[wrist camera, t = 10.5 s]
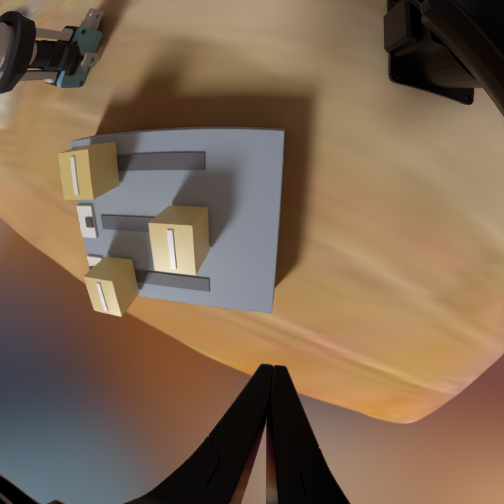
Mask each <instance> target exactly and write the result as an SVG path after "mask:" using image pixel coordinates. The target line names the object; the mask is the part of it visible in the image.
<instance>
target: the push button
mask: <svg viewBox="0 0 504 504" xmlns="http://www.w3.org/2000/svg"><path fill="white" fill-rule="evenodd" d="M96 11H97V9H89V11H88V13H87V15H86V17H85V19H84V21H82V23H81V25H80V27H75V26H66V27H64V29H63V30H62V31H56V30H49V29H42V28H36V27H35V22H34V21H32V20H30V19H28V18H26V17H23V16H22V14H21V13H19V12H16V11H9V12H6V13H4V14H3V15H1V16H0V94H1V93H6V92H9V91H11V90H12V89H13V88H14V87H15V85H16V84H17V83H18V82H19V81H27V80H45V83H48V84H51V85H54V86H58V87H61V88H74V87H77V88H78V87H82V86H83V84H84V82H85V78H86V75H87V72H88V70H89V67H94V66H95V64H96V62H97V59H98V57H99V54H97V53H95V52H96V49H97V47H98V45H99V42H100V40H101V38H102V35H103V33H102V32H100V31H97V29H98V26H99V24H98V23H99V21H100V19H101V17H102V15H103V13H104V12H103V11H97V12H96ZM91 12H92V13H93V14H92V16H91V17H89V14H90V13H91ZM97 15H100V16H99V18H98V19H96V16H97ZM91 21H92V22H91ZM36 37H39V38H49V39H58V41H47V40H42V41H38V40H35V38H36ZM93 57H94V61H93V62H92V59H93ZM91 62H92V63H91ZM27 68H38V69H42V70H27Z"/></svg>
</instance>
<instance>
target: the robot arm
mask: <svg viewBox="0 0 504 504" xmlns="http://www.w3.org/2000/svg"><path fill="white" fill-rule="evenodd" d="M392 1H394V2H396V3H397V4H396V5H394V4H393V3H392ZM384 49H385V50H386V51H387V52H388V53H389V68H388V75H389V78H390V80H391V81H392V82H393V83H396V84H400V85H404V86H408V87H412V88H416V89H419V90H423V91H426V92H430V93H433V94H436V95H439V96H442V97H445V98H448V99H451V100H454V101H457V102H460V103H462V104H466V105H471V104H472V103H473V100H474V88H483V89H484V90H485V91H486V92H487V94H488V95H489V97H490V98H491V99H492V101H493V102H494V103H495V105H496V106H497V108H498V109H499V111H500V112H501V114H502V115H503V117H504V0H387V14H386V15H385V16H384ZM395 72H396V73H398V75H399V79H396V78H395V77H394V73H395ZM466 95H467V97H468V100H466V98H465V96H466ZM267 412H268V413H267ZM266 419H267V422H266ZM265 424H266V504H350V502H349V501H348V499H347V498H346V496H345V495H344V493H343V491H342V490H341V488H340V486H339V485H338V484H337V482H336V480H335V478H334V476H333V475H332V473H331V471H330V470H329V467H328V465H327V463H326V461H325V459H324V456H323V454H322V452H321V449H320V448H319V445H318V442H317V440H316V438H315V435H314V433H313V430H312V428H311V425H310V423H309V421H308V418H307V416H306V413H305V411H304V408H303V406H302V404H301V401H300V399H299V396H298V394H297V391H296V389H295V387H294V384H293V382H292V379H291V377H290V374H289V372H288V369H287V367H286V366H281V365H275V366H274V367H273V365H271V364H261V365H260V366H259V367H258V369H257V370H256V372H255V373H254V374H253V376H252V377H251V379H250V380H249V382H248V383H247V385H246V386H245V387H244V389H243V390H242V391H241V393H240V394H239V396H238V397H237V398H236V400H235V401H234V402H233V404H232V405H231V406H230V408H229V409H228V410H227V412H226V413H225V414H224V416H223V417H222V418H221V420H220V421H219V422H218V423H217V425H216V426H215V427H214V429H213V430H212V431H211V433H210V434H209V437H206V439H205V440H204V441H203V443H202V444H201V445H200V446H199V447H198V448H197V450H196V451H195V452H194V453H193V454H192V455H191V456H190V457H189V458H188V459H187V460H186V461H185V462H184V463H183V464H182V465H181V466H180V467H179V468H178V469H176V470H175V471H174V472H173V473H172V474H171V475H170V476H169V477H167V478H166V479H165V480H164V481H162V482H161V483H160V484H159V485H158V486H157V487H155V488H154V489H153V490H151V491H150V492H148V493H147V494H145V495H143V496H141V497H139V498H137V499H134V500H132V501H129V502H127V503H124V504H241V502H242V499H243V496H244V492H245V490H246V487H247V484H248V481H249V477H250V474H251V471H252V468H253V465H254V462H255V459H256V455H257V452H258V449H259V445H260V442H261V439H262V435H263V432H264V428H265ZM0 504H40V503H39V502H37V501H36V500H35V499H33V498H32V497H30V496H29V495H28V494H26V493H25V492H24V491H23V490H21V489H20V488H19V487H17V486H16V485H14V484H13V483H12V482H10V481H9V480H8V479H6V478H5V477H4V476H2V475H1V474H0ZM47 504H65V503H63V502H61V501H59V500H53V501H51V502H49V503H47Z"/></svg>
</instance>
